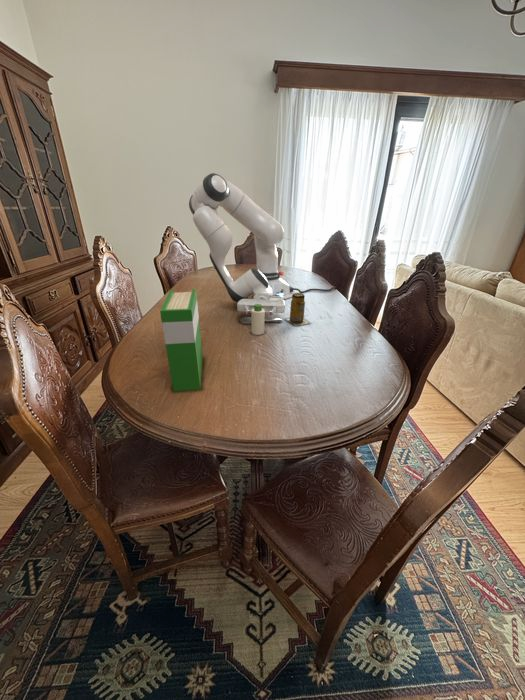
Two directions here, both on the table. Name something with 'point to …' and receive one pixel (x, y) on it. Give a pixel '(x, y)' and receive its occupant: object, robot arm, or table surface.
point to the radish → (257, 319)
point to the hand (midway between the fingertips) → (259, 312)
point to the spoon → (248, 320)
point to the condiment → (297, 310)
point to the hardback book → (183, 339)
